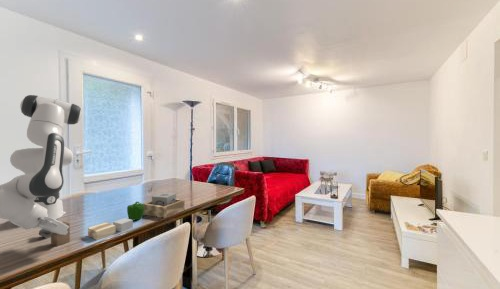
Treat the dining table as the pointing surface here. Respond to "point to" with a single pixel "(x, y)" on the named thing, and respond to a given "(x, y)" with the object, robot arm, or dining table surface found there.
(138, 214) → the bell pepper
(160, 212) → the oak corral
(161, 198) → the icon cube
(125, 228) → the grey painted block
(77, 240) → the dining table surface
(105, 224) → the maple block
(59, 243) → the walnut block
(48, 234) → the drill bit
